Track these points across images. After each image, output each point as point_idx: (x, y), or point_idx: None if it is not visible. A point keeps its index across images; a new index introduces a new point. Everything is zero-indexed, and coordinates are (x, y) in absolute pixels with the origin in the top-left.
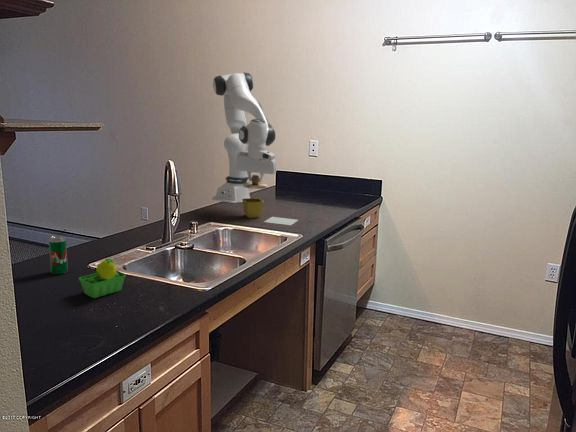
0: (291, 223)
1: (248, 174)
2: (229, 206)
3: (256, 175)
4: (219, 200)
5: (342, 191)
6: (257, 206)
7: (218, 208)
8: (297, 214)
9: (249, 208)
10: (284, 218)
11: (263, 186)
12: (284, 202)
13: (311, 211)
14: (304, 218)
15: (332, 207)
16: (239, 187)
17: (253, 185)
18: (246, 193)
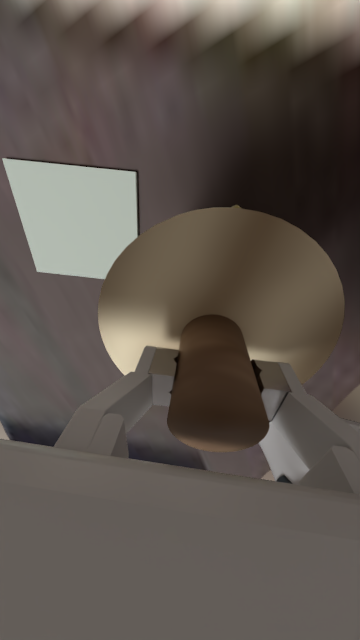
0: (20, 195)
1: (347, 437)
2: (313, 378)
3: (206, 437)
4: (348, 420)
5: None
6: None
7: (355, 347)
8: (89, 347)
9: None
10: (88, 272)
11: (108, 292)
12: (171, 437)
13: (75, 385)
14: (44, 309)
15: (56, 423)
16: (305, 468)
17: (215, 290)
18: (274, 451)
